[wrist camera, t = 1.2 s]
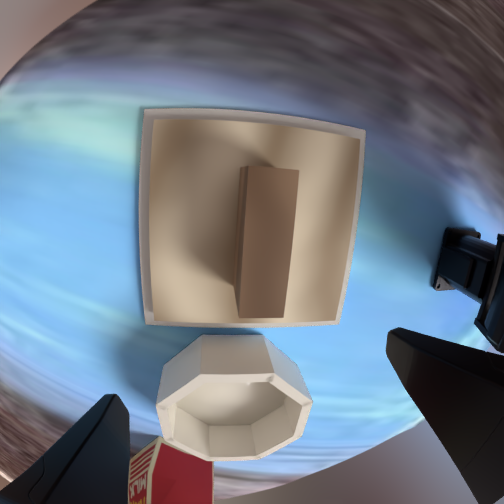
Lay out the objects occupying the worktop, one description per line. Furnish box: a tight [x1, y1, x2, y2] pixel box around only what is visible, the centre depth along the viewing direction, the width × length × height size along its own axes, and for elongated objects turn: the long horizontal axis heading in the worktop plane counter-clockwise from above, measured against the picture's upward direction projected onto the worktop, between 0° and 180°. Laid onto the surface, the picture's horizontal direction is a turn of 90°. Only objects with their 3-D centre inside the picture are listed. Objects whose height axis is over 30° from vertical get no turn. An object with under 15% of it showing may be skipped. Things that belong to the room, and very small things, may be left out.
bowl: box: [156, 334, 313, 461], centre depth 21 cm, size 12×12×5 cm
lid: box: [149, 119, 360, 323], centre depth 17 cm, size 14×14×6 cm
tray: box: [139, 108, 366, 328], centre depth 19 cm, size 16×16×1 cm
